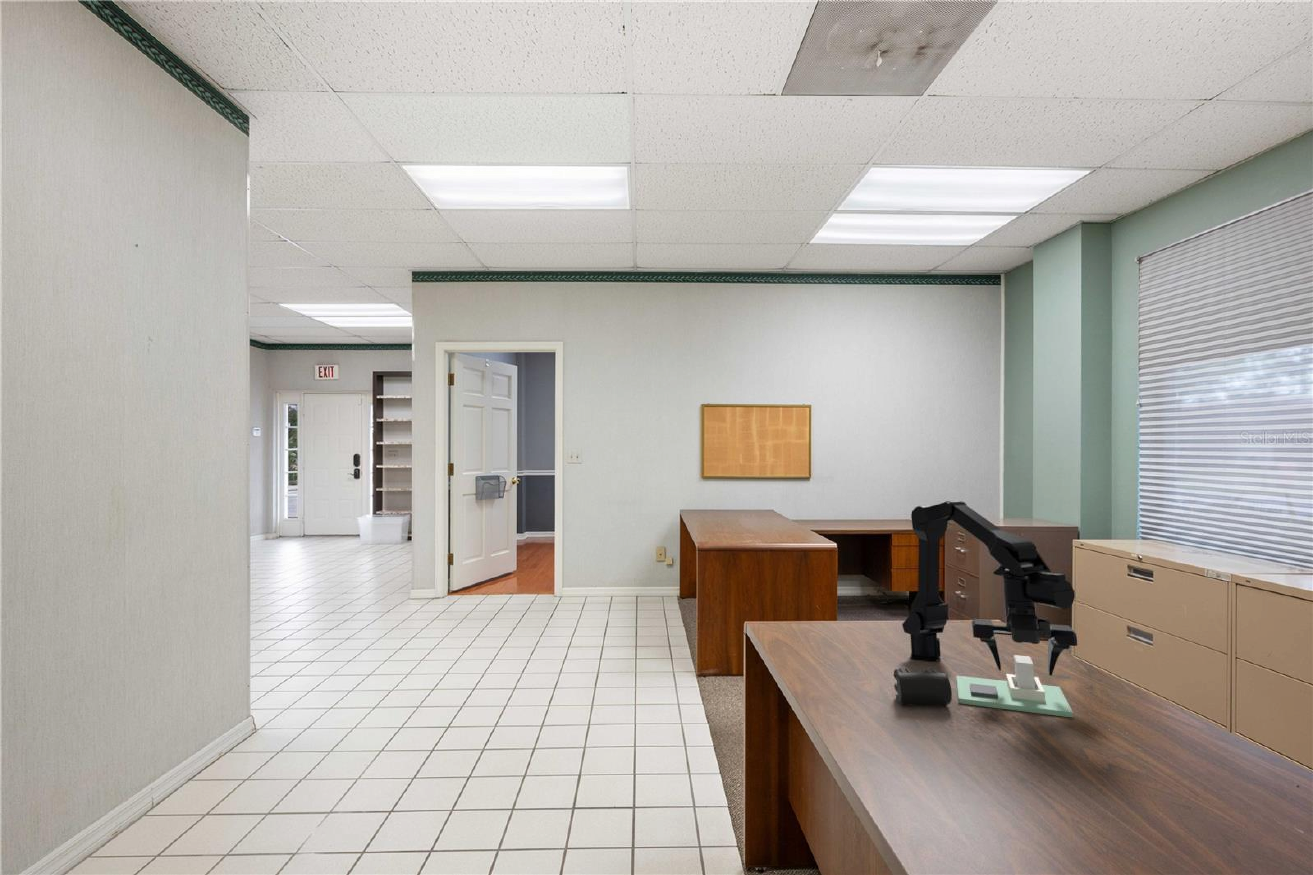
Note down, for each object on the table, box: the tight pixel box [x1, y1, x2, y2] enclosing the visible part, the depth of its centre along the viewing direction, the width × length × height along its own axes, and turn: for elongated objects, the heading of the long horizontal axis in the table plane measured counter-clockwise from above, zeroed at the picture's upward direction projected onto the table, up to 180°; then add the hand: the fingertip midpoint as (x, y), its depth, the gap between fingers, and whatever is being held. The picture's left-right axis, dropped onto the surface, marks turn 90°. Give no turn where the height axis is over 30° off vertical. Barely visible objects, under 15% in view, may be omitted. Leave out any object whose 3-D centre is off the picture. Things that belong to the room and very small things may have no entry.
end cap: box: [893, 668, 953, 707], centre depth 123 cm, size 10×7×7 cm
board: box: [956, 673, 1074, 718], centre depth 124 cm, size 20×14×3 cm
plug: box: [1013, 654, 1035, 689], centre depth 124 cm, size 3×6×7 cm, turn 154°
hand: (1024, 672), depth 124 cm, fingers open, 9 cm apart
